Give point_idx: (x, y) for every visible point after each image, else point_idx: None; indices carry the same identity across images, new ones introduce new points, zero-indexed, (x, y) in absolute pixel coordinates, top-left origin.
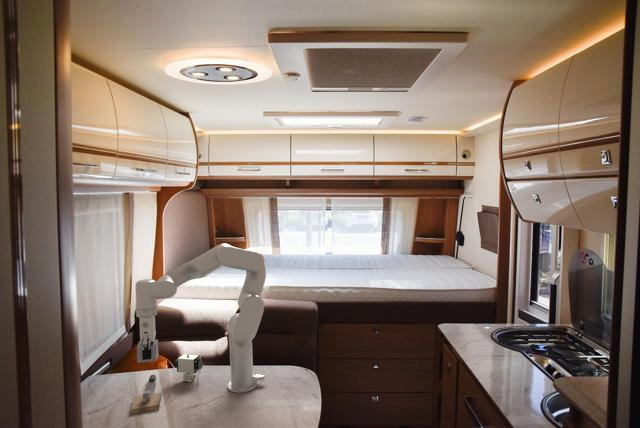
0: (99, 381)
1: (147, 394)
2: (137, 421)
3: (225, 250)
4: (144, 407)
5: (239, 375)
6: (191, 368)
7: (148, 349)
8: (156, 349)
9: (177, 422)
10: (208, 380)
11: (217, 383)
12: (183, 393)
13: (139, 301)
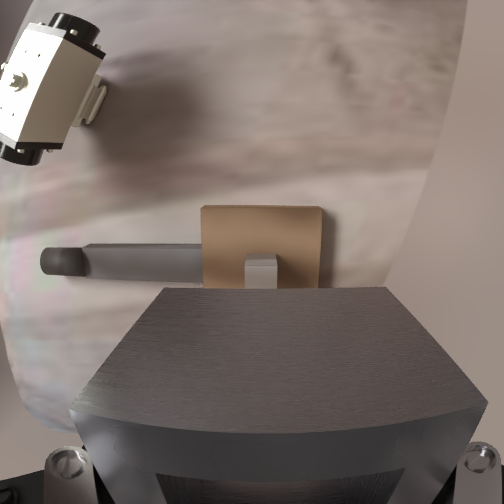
0: (54, 409)
1: (276, 272)
2: (378, 281)
3: None
4: (318, 270)
5: None
6: (83, 67)
7: (477, 457)
8: (444, 358)
9: (439, 137)
10: (121, 22)
11: None
12: (203, 108)
13: None
